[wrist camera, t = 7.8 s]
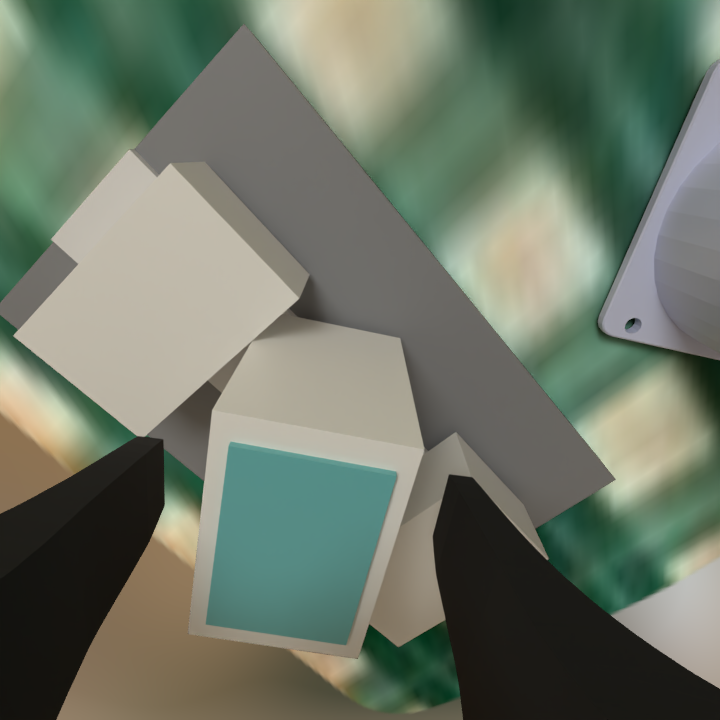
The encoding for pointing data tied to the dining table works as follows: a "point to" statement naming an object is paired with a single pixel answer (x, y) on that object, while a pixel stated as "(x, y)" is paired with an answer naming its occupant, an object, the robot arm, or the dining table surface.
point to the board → (351, 280)
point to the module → (304, 488)
